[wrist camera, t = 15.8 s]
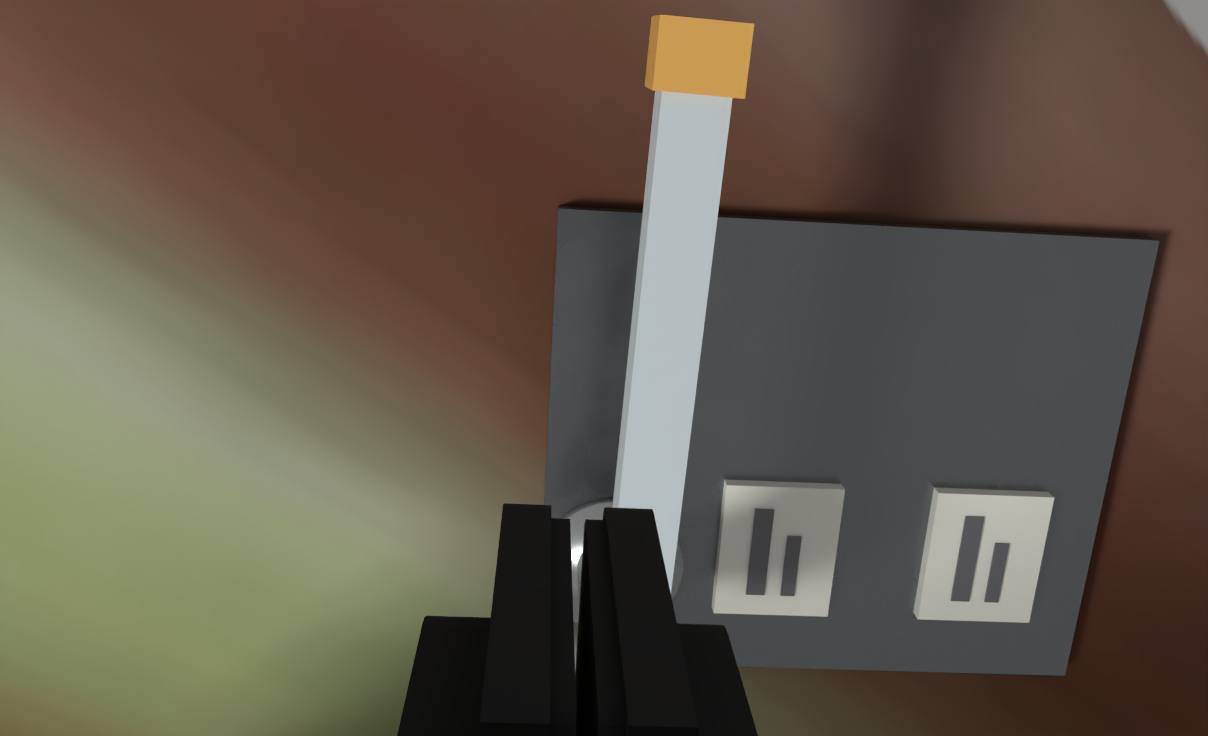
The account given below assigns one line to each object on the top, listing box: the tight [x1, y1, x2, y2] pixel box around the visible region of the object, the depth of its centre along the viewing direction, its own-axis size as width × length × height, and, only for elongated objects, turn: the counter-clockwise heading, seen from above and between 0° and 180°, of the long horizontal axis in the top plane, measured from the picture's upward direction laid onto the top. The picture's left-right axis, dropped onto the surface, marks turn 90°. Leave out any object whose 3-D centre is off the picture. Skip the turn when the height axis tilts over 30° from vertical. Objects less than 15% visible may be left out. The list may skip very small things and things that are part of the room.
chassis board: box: [544, 206, 1160, 676], centre depth 45 cm, size 20×24×1 cm
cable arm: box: [574, 15, 754, 669], centre depth 34 cm, size 24×4×3 cm, turn 175°
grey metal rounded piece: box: [561, 497, 683, 623], centre depth 42 cm, size 6×6×7 cm
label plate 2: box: [913, 487, 1054, 623], centre depth 46 cm, size 6×5×1 cm
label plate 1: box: [712, 479, 845, 617], centre depth 45 cm, size 6×5×1 cm
